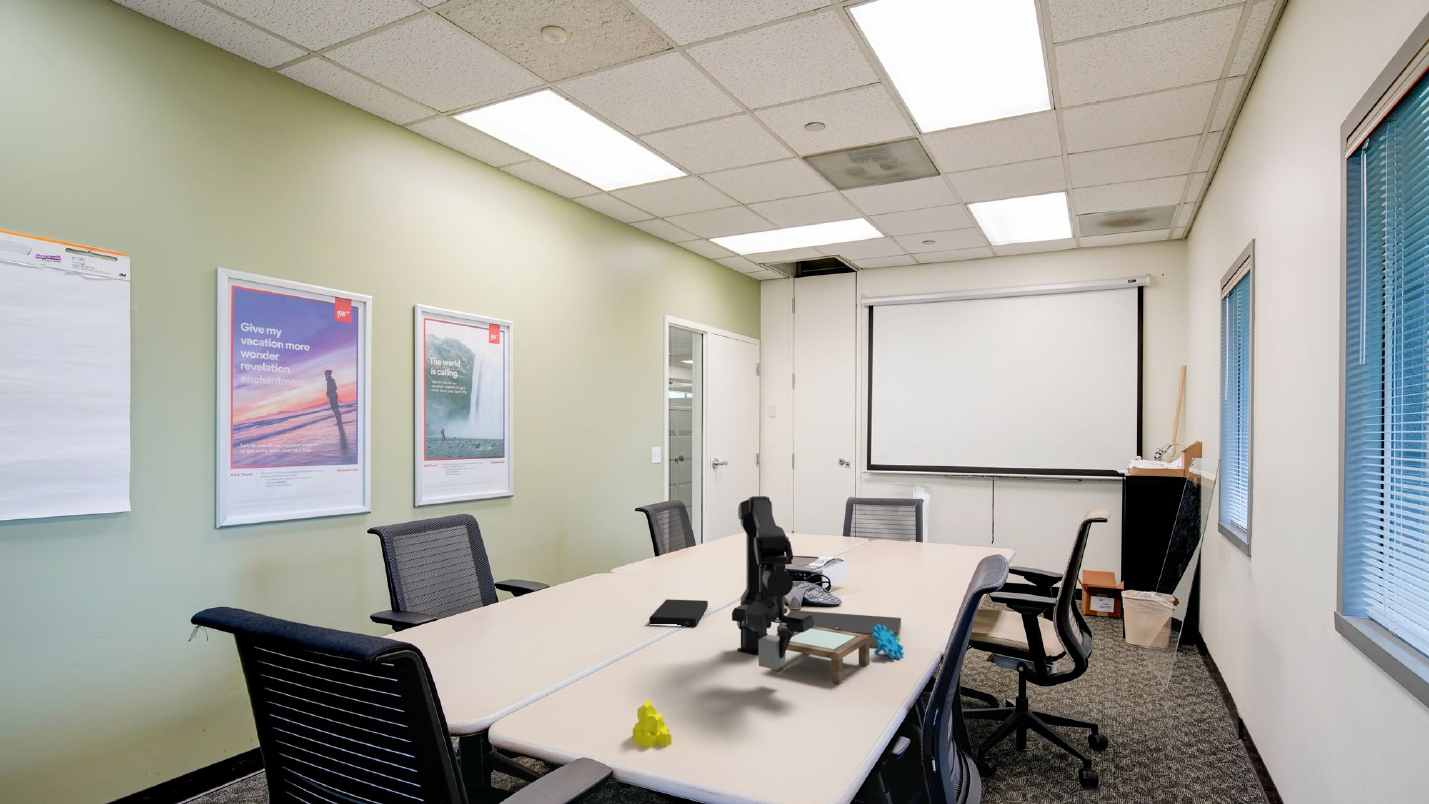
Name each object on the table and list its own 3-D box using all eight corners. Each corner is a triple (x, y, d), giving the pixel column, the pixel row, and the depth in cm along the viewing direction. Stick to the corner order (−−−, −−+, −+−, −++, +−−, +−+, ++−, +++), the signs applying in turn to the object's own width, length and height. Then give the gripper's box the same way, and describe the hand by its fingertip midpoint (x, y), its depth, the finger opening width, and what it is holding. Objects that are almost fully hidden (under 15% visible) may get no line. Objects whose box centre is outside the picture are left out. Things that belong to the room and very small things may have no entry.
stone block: (758, 665, 160) (758, 639, 160) (768, 660, 163) (768, 634, 164) (775, 669, 157) (775, 642, 157) (785, 664, 161) (785, 637, 161)
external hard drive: (707, 609, 233) (707, 600, 233) (695, 628, 210) (695, 618, 210) (665, 608, 235) (665, 599, 235) (649, 627, 212) (649, 616, 212)
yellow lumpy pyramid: (659, 751, 128) (658, 708, 128) (625, 741, 132) (625, 699, 132) (678, 740, 133) (678, 698, 133) (645, 730, 137) (645, 690, 137)
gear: (891, 657, 176) (869, 623, 182) (876, 671, 178) (854, 636, 184) (914, 654, 183) (891, 621, 189) (899, 667, 186) (877, 634, 192)
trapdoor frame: (772, 669, 172) (772, 640, 172) (806, 651, 186) (805, 624, 187) (839, 684, 162) (838, 653, 162) (869, 663, 176) (869, 635, 176)
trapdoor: (809, 632, 183) (809, 628, 183) (856, 640, 176) (856, 636, 176) (785, 644, 173) (785, 640, 173) (833, 653, 165) (833, 649, 165)
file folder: (776, 626, 198) (792, 607, 221) (776, 641, 198) (792, 620, 221) (897, 635, 188) (900, 615, 211) (897, 651, 188) (901, 629, 211)
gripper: (718, 588, 160) (718, 657, 159) (790, 599, 149) (791, 673, 148) (744, 580, 169) (744, 645, 168) (814, 589, 158) (815, 659, 158)
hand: (772, 655), depth 160 cm, fingers closed on stone block, 4 cm apart
